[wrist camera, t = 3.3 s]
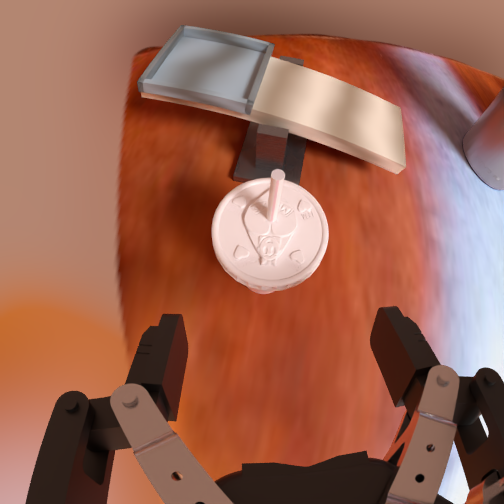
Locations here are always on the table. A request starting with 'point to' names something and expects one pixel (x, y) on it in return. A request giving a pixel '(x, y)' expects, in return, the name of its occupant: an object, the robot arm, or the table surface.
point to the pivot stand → (271, 150)
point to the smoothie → (269, 234)
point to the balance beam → (274, 94)
